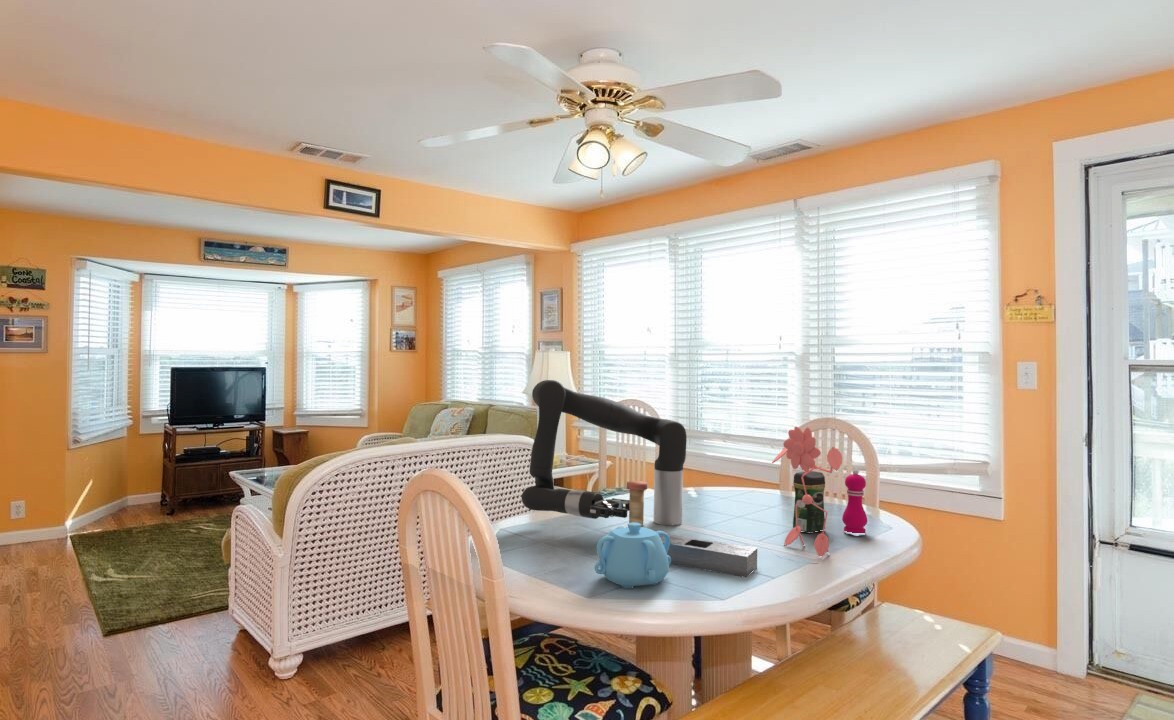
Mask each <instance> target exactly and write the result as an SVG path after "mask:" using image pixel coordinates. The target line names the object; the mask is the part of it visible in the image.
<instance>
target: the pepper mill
mask: <svg viewBox="0 0 1174 720" xmlns="http://www.w3.org/2000/svg"><path fill="white" fill-rule="evenodd" d="M844 480H845V481H844V485H845V486H846V488H847V489H846V495H847V498H848V499H847V505H846V507H845V509H844V511H843V513H842V519H841V520H842V522H843V523H842V524H844V527H843V532H844V531H847V532H852V533H865V534H866V528H865V527H866V525H867V524H868V515H867V514H866V511H865V509H864V507H863V506H864V505H863V496H864V495H865V494H864V493H865V491H864V489H865V488H866V486H867V484H866V483H867V482H866V479H865V478H864V476H863V475H861V474H860V473H859V469H855V468H854V469H853V470H852V474H849V475H847V476H846V478H845V479H844Z"/></svg>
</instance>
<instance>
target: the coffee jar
mask: <svg viewBox="0 0 1174 720" xmlns="http://www.w3.org/2000/svg"><path fill="white" fill-rule="evenodd" d="M804 473H806V472H805V471H800V472H796V473H794V475H793V483H792V485H793V487H794V505H793V517H792V518H793V519H792V529H793V528H794V527H796V503H798V502H800V501H801V500H802V498H803V496H804V495H806V494H805V490H804V487H803V483H802V479H801V477H803V476H802V475H803V474H804ZM825 477H826V476H825V475H824V473H823V472H819V471H814V470H812V471H811V472H809V473H808V474H806V475H805V476H804V477H803V479H804V484H805V488H806V493H807V495H810V496H811V497H812V499H813V501H812V503H814V504H815V505H817V506H819V507H820V508H822V509H823V510H825V503H824V502H825V501H824V494H825V493H824V492H825V488H826V478H825ZM815 505H813V504H805V503H804V502H803V501H802V502H800V503H799V504H797V526H800V527H801V531H805V532H804V533H806V532H815V531H820V530H823V526H824V521H825V516H826V515H825V512H824V511H823V510H821V509H820V508H818V507H816V506H815Z"/></svg>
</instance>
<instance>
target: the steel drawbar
mask: <svg viewBox="0 0 1174 720" xmlns="http://www.w3.org/2000/svg"><path fill="white" fill-rule="evenodd" d="M667 534H668V535H669V537H670V546H669V549H668V552H667V555H669V556H670V558H671V564H672V565H677V566H683V567H688V568H692V569H698V568H699V569H700V570H704V569H706V570H705V571H709V570H711V571H710V572H714V571H716V572H715V573H720V572H721V574H725V573H726V574H727V575H733V576H736V575H737V577H742V576H743V578H748V577H749V576H750V575H751V574H752V573H753V572H754V571H755V570H756V569H757V568H758V547H753V546H747V545H739V544H734V543H727V542H721V541H715V540H714V541H713V540H709V539H703V538H698V537H697V538H695V537H689V536H684V535H683V536H682V535H677V534H671V533H667ZM659 536H660V538H661V540H662V543H663V545H664V542H665V537H664V536H663V535H659ZM671 564H670V565H671ZM753 570H754V571H753ZM752 571H753V572H752ZM751 572H752V573H751ZM750 573H751V574H750ZM749 574H750V575H749ZM748 575H749V576H748ZM747 576H748V577H747Z"/></svg>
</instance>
